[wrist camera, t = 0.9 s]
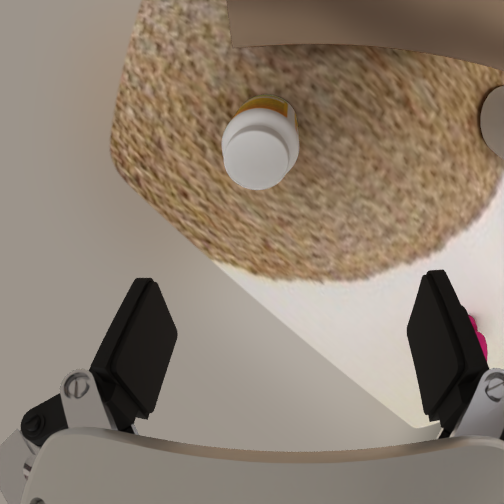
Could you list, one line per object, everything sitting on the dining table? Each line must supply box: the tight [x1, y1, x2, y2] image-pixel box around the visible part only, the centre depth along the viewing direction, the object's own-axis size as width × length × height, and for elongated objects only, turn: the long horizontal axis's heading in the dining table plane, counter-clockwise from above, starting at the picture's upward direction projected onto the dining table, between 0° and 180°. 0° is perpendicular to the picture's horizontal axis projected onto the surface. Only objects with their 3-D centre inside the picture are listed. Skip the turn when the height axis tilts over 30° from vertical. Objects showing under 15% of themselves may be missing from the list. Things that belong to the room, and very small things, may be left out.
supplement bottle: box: [222, 94, 299, 190], centre depth 23 cm, size 5×5×10 cm
